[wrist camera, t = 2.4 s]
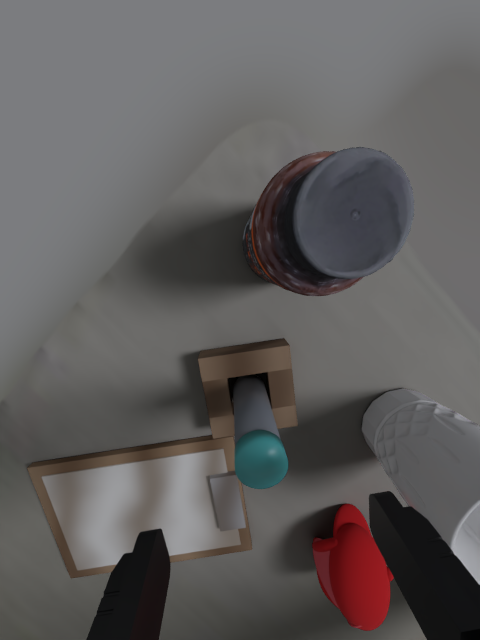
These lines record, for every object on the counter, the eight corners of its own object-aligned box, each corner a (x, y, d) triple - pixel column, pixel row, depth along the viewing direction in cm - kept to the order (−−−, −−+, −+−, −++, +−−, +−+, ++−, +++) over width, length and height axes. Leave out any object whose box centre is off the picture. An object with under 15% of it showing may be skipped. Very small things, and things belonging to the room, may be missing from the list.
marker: (261, 366, 21) (285, 439, 12) (265, 394, 21) (290, 484, 13) (230, 370, 21) (230, 447, 12) (234, 399, 21) (238, 492, 13)
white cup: (360, 381, 22) (468, 477, 12) (446, 381, 22) (620, 474, 12) (349, 458, 23) (437, 597, 14) (430, 457, 24) (571, 591, 14)
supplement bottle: (225, 245, 19) (219, 216, 8) (280, 183, 18) (365, 49, 7) (280, 298, 20) (346, 341, 9) (335, 242, 19) (484, 209, 8)
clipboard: (232, 431, 22) (232, 440, 21) (251, 543, 25) (252, 555, 24) (32, 462, 22) (22, 472, 21) (74, 571, 25) (67, 584, 24)
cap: (381, 608, 23) (431, 615, 19) (331, 639, 21) (377, 655, 17) (337, 506, 28) (370, 494, 24) (293, 522, 26) (322, 512, 22)
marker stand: (284, 338, 20) (289, 345, 19) (292, 413, 22) (297, 425, 20) (200, 350, 20) (197, 358, 19) (214, 424, 22) (213, 438, 20)
